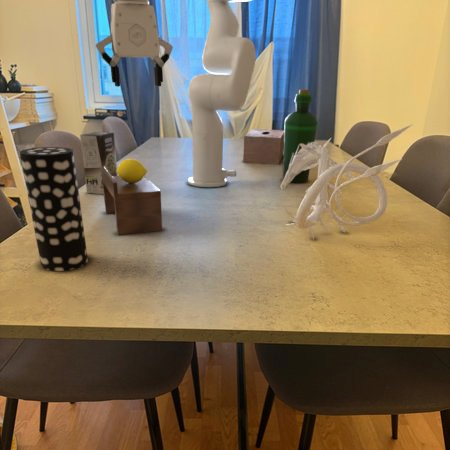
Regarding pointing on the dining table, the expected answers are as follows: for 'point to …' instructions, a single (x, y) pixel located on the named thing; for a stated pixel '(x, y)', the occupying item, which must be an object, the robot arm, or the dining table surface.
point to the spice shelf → (132, 204)
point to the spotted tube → (55, 207)
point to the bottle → (299, 132)
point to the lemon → (131, 170)
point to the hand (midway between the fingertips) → (138, 86)
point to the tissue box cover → (263, 146)
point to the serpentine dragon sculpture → (320, 186)
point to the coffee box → (98, 158)
